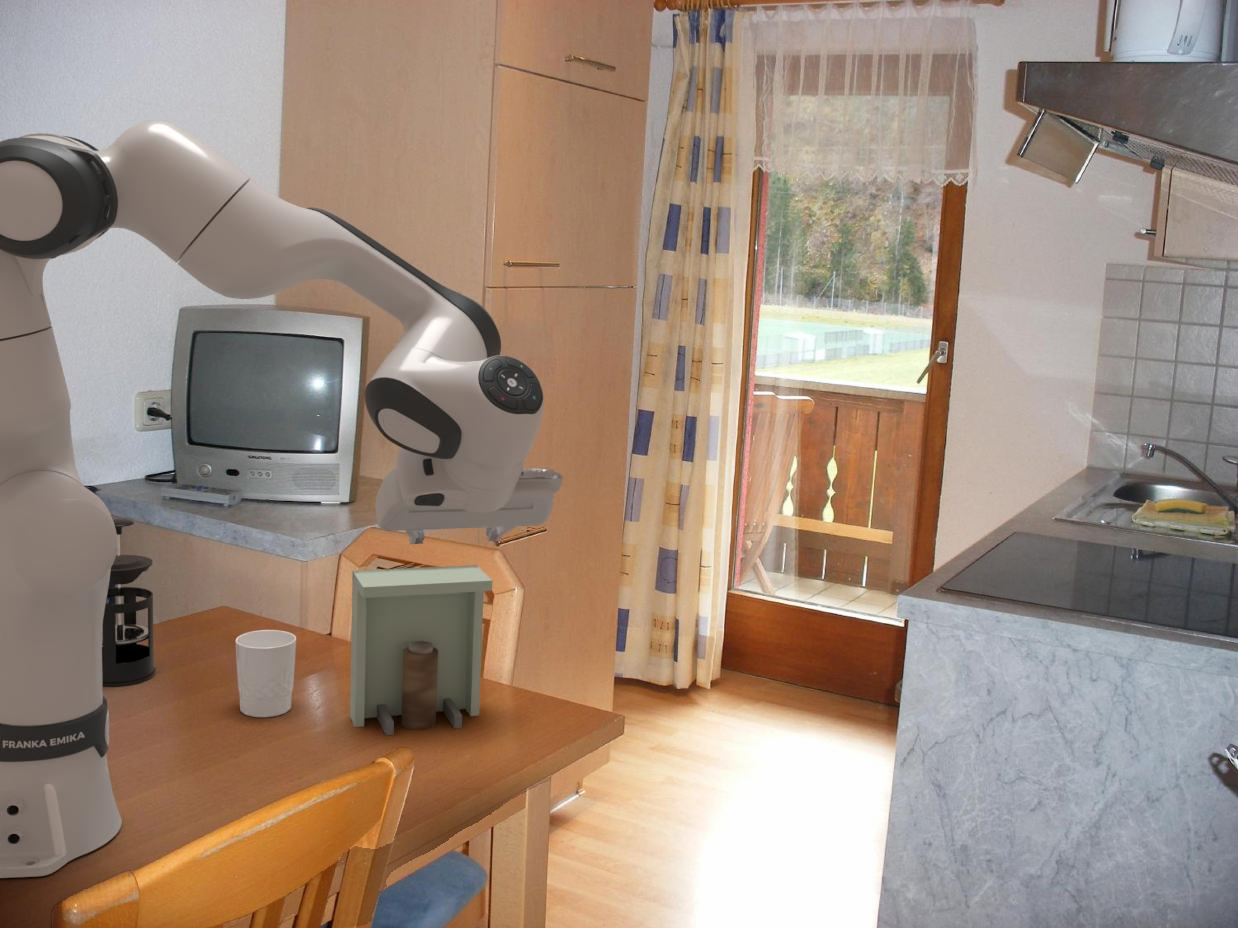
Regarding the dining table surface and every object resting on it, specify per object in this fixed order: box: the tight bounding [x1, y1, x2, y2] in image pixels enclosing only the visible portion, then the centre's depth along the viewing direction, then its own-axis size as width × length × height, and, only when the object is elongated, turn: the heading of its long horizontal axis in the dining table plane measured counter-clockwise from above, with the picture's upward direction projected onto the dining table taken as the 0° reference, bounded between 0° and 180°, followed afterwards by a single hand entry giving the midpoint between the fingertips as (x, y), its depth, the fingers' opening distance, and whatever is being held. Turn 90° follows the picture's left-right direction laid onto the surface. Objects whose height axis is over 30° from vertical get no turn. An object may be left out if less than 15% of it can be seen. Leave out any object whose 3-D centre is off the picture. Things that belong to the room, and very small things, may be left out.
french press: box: [102, 518, 156, 688], centre depth 168 cm, size 12×9×23 cm
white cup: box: [235, 629, 297, 718], centre depth 160 cm, size 8×8×10 cm
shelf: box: [349, 564, 493, 736], centre depth 158 cm, size 17×8×20 cm, turn 112°
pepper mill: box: [400, 641, 438, 731], centre depth 158 cm, size 5×5×11 cm
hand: (454, 537), depth 140 cm, fingers open, 8 cm apart
